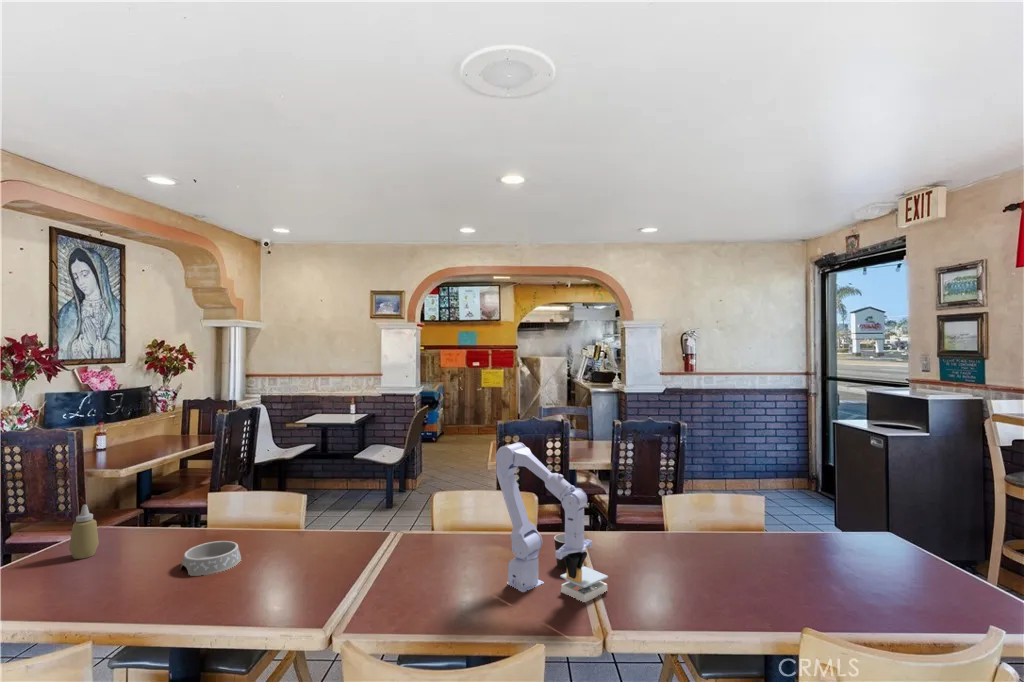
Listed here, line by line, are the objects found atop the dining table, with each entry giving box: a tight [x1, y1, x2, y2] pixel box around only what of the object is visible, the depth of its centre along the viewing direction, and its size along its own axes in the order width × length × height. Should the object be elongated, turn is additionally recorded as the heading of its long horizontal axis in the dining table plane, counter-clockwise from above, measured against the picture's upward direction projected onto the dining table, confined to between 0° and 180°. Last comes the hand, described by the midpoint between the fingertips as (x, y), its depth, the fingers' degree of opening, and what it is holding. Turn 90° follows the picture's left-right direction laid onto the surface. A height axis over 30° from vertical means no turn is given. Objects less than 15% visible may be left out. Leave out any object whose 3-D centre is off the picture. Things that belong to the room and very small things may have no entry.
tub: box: [560, 581, 608, 603], centre depth 159 cm, size 11×9×3 cm
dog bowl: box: [179, 540, 242, 577], centre depth 177 cm, size 17×18×5 cm
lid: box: [560, 566, 609, 588], centre depth 159 cm, size 11×9×5 cm
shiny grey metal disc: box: [578, 589, 588, 594], centre depth 157 cm, size 3×3×1 cm
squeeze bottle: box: [68, 504, 100, 560], centre depth 183 cm, size 8×8×18 cm
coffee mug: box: [553, 533, 567, 572], centre depth 178 cm, size 12×9×10 cm
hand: (574, 576), depth 156 cm, fingers closed on lid
